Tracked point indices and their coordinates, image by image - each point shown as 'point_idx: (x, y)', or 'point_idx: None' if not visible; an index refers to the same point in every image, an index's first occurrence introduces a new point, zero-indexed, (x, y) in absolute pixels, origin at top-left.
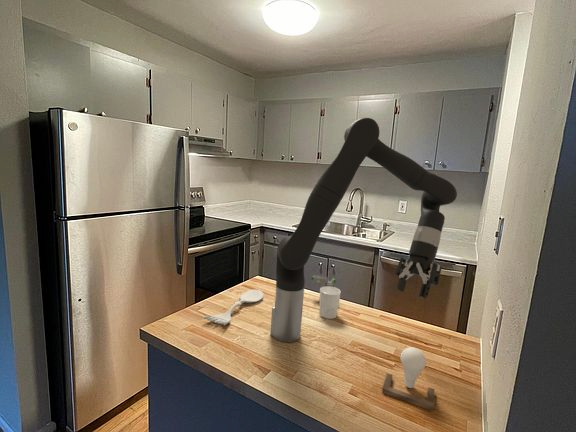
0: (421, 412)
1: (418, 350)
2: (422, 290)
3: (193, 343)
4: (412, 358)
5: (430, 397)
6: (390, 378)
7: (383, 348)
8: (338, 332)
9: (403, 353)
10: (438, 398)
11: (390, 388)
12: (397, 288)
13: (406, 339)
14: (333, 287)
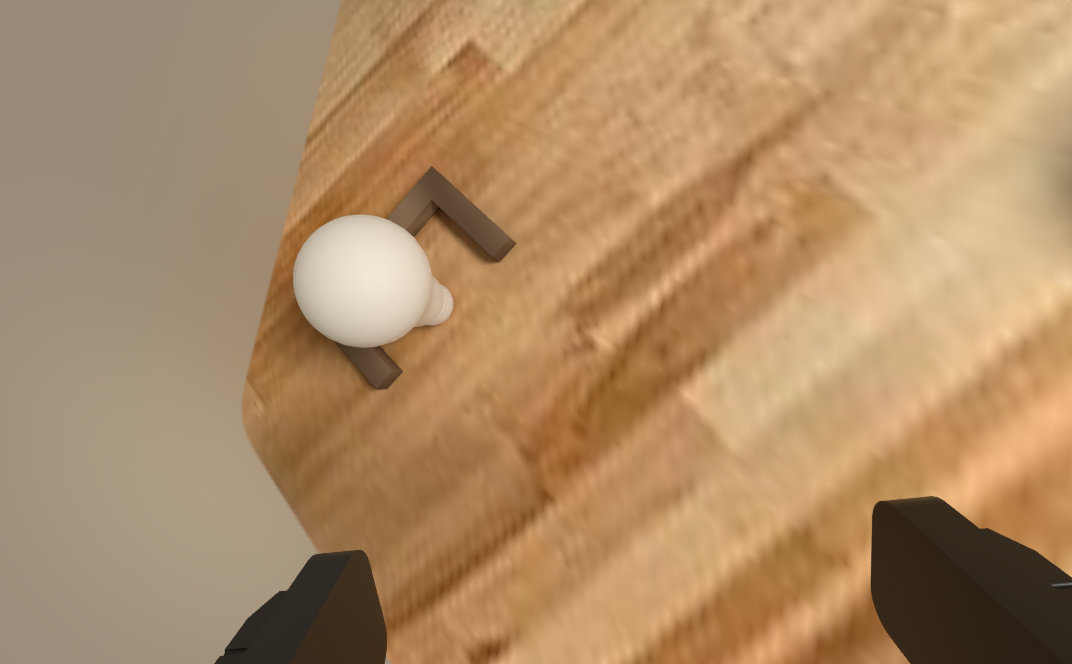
0: None
1: (314, 289)
2: (255, 640)
3: None
4: (310, 235)
5: None
6: (474, 234)
7: (742, 369)
8: (993, 156)
9: (367, 219)
10: (362, 386)
11: (423, 199)
12: (939, 499)
13: (820, 604)
14: None
